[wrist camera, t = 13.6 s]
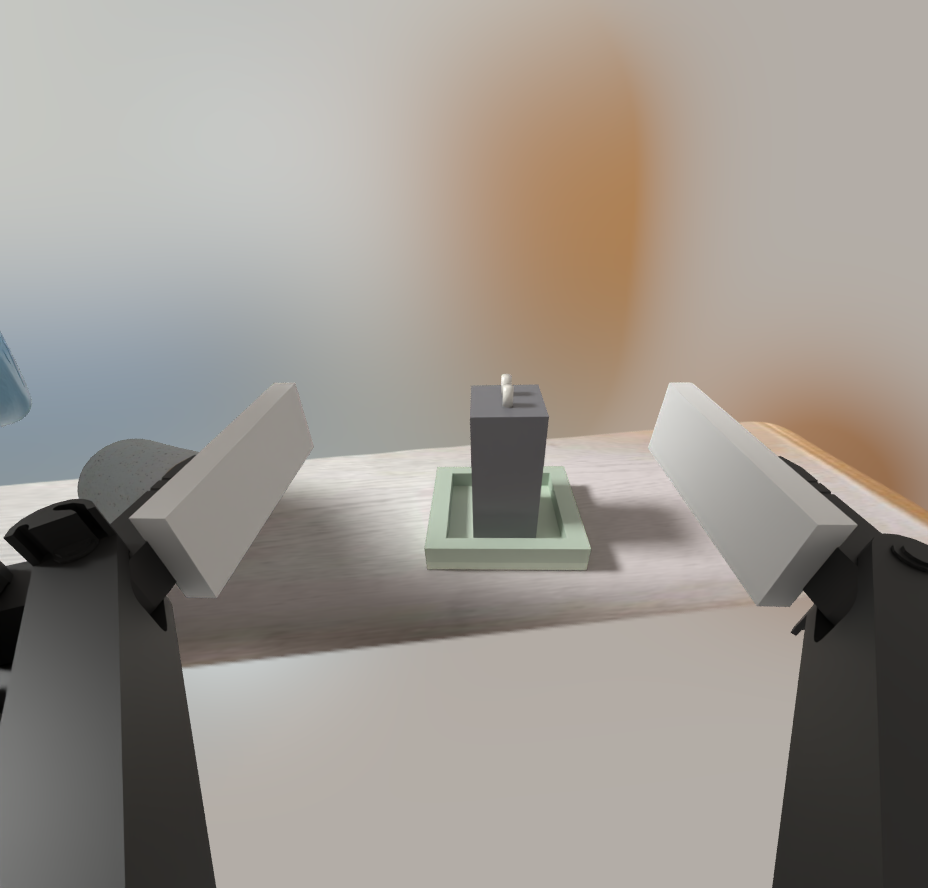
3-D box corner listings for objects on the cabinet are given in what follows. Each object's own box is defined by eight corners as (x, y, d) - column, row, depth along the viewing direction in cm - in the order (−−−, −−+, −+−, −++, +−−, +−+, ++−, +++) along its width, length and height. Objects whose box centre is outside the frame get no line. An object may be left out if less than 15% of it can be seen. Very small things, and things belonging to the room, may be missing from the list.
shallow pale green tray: (427, 569, 28) (424, 548, 27) (439, 485, 36) (437, 467, 35) (586, 570, 28) (591, 549, 26) (561, 485, 36) (563, 466, 35)
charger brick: (473, 537, 30) (469, 397, 23) (473, 496, 34) (471, 368, 27) (535, 538, 29) (550, 396, 23) (528, 496, 33) (539, 366, 27)
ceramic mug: (183, 559, 30) (136, 484, 26) (107, 543, 31) (51, 470, 27) (272, 481, 38) (247, 415, 34) (208, 471, 40) (177, 408, 36)
